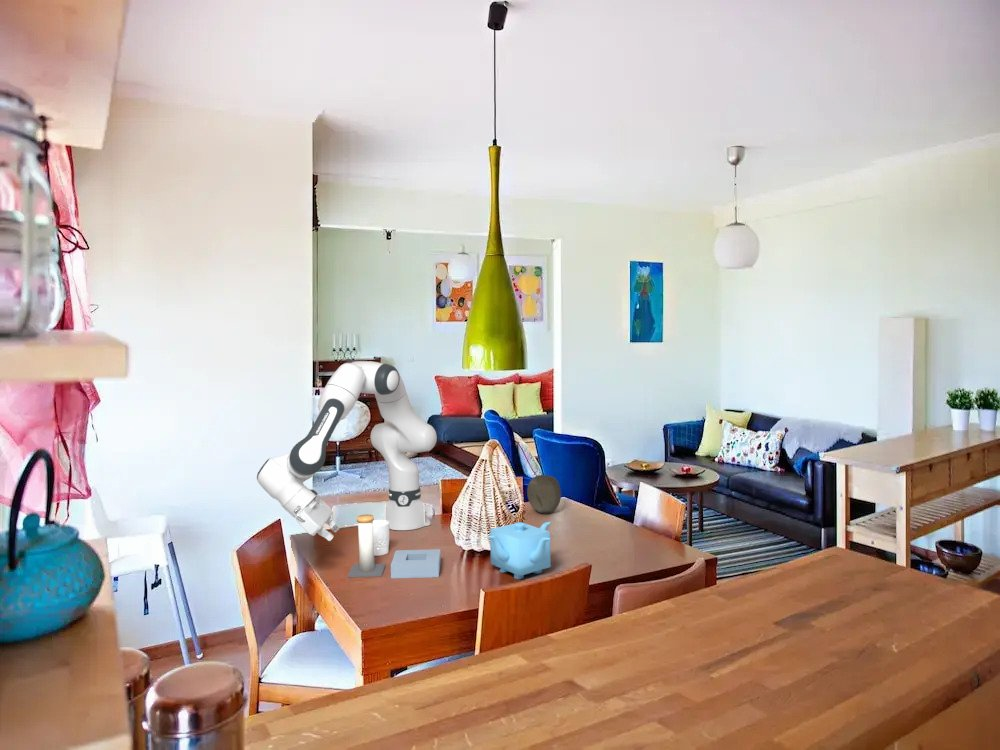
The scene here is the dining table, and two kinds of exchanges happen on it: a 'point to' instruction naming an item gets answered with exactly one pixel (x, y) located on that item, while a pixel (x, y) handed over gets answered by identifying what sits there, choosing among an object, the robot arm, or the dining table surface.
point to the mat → (374, 573)
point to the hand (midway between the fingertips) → (334, 534)
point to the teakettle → (520, 548)
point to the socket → (416, 563)
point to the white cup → (381, 537)
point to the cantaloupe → (544, 493)
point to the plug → (366, 542)
